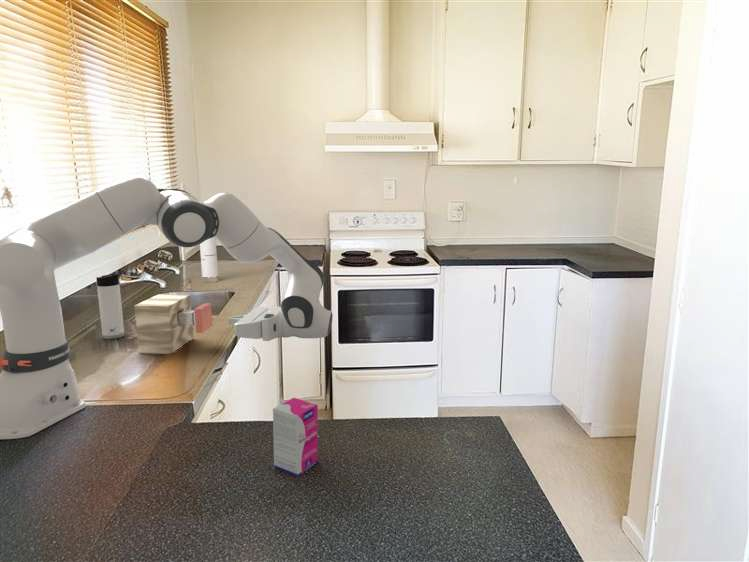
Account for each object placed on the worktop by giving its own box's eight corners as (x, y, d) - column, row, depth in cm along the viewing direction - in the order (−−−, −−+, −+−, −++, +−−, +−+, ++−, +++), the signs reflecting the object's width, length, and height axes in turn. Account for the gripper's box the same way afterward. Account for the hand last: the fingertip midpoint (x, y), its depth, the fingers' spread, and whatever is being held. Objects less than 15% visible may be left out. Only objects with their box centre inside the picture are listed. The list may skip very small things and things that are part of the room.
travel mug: (117, 339, 169) (110, 276, 165) (98, 338, 170) (91, 275, 166) (129, 334, 175) (123, 272, 171) (111, 332, 176) (105, 271, 172)
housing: (172, 354, 156) (168, 306, 153) (138, 352, 157) (134, 305, 154) (193, 338, 170) (190, 294, 167) (162, 337, 171) (158, 294, 168)
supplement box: (299, 478, 94) (297, 416, 92) (273, 468, 97) (270, 408, 95) (319, 462, 99) (318, 403, 97) (294, 453, 102) (292, 396, 100)
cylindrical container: (215, 283, 250) (212, 228, 245) (200, 283, 250) (196, 228, 245) (220, 279, 257) (217, 226, 252) (205, 279, 257) (201, 226, 252)
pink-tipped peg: (202, 332, 158) (201, 309, 156) (156, 331, 159) (154, 307, 158) (212, 325, 164) (211, 303, 163) (168, 324, 166) (166, 302, 165)
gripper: (286, 302, 167) (242, 301, 169) (265, 320, 148) (216, 318, 149) (286, 322, 169) (243, 320, 170) (266, 343, 149) (217, 341, 150)
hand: (230, 320), depth 159 cm, fingers closed
